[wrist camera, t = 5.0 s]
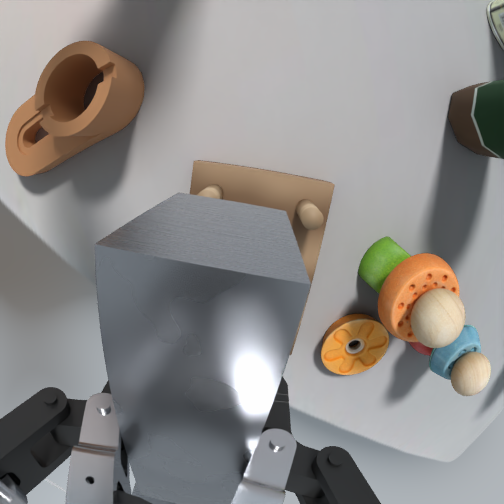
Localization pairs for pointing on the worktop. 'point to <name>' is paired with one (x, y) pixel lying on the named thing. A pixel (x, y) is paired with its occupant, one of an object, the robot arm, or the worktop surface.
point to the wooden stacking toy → (410, 319)
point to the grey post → (197, 339)
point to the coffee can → (497, 19)
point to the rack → (272, 200)
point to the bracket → (73, 107)
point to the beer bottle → (479, 118)
